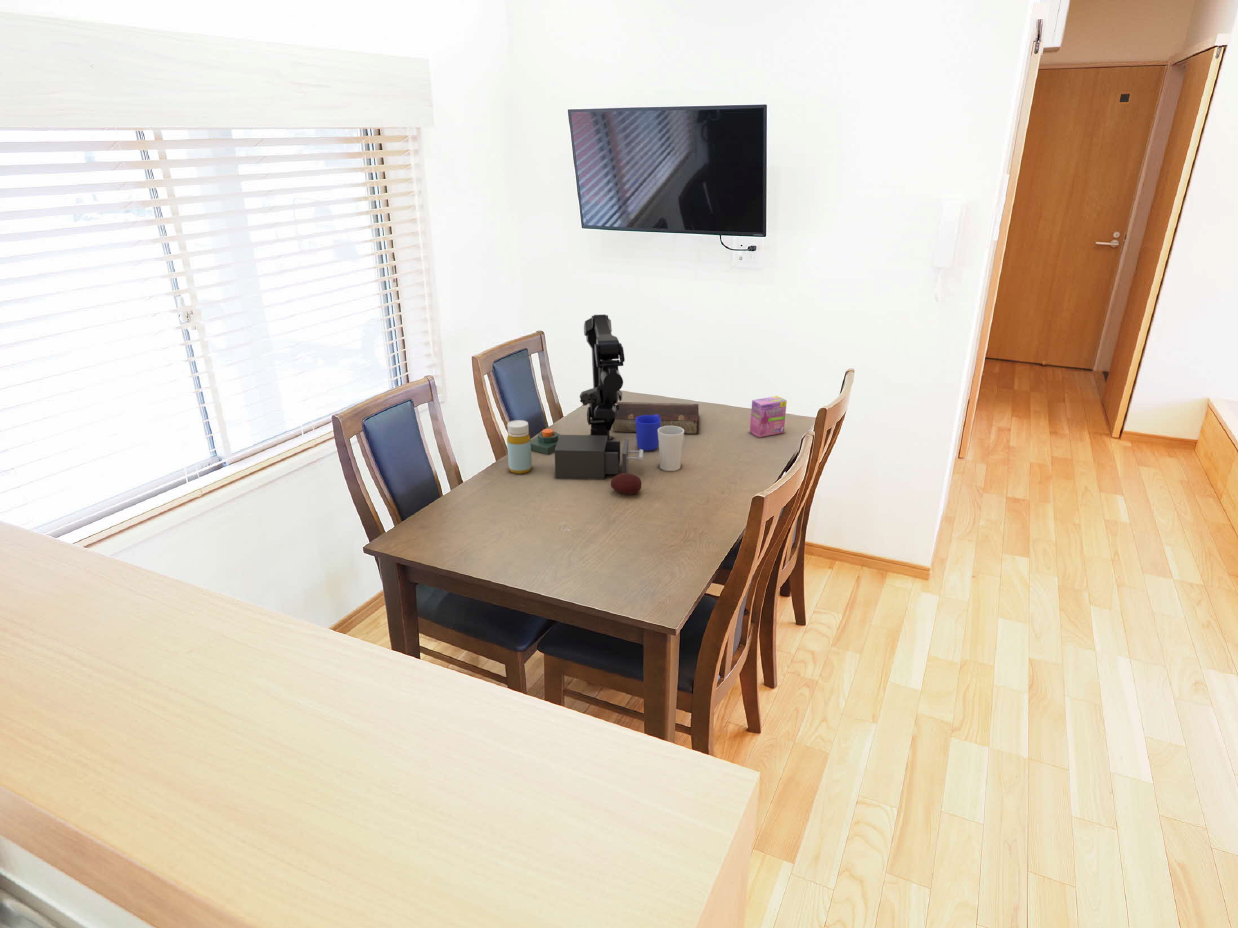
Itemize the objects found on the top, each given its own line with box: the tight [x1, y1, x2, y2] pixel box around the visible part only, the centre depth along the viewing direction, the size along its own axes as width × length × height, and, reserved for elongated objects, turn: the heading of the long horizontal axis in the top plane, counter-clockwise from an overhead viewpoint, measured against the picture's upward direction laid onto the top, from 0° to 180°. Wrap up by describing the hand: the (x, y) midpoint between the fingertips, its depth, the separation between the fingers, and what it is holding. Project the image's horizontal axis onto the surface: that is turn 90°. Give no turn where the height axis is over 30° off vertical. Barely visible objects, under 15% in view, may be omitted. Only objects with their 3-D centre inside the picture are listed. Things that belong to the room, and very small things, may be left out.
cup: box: [658, 426, 685, 472], centre depth 239 cm, size 8×8×12 cm
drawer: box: [604, 438, 644, 475], centre depth 237 cm, size 18×11×7 cm, turn 86°
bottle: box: [506, 419, 533, 475], centre depth 237 cm, size 7×7×15 cm
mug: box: [635, 415, 661, 452], centre depth 255 cm, size 8×12×10 cm
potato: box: [610, 472, 643, 495], centre depth 223 cm, size 8×9×6 cm
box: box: [749, 395, 788, 438], centre depth 265 cm, size 10×6×12 cm, turn 114°
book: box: [612, 401, 700, 434], centre depth 275 cm, size 29×19×5 cm, turn 85°
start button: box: [541, 428, 555, 437], centre depth 256 cm, size 4×4×2 cm
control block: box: [531, 430, 562, 455], centre depth 257 cm, size 12×9×4 cm
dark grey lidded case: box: [553, 434, 607, 480], centre depth 237 cm, size 15×13×9 cm
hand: (608, 430), depth 239 cm, fingers closed
